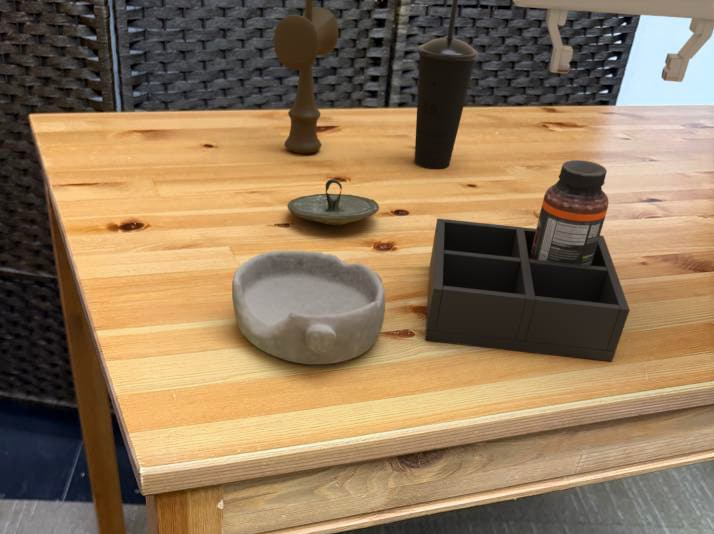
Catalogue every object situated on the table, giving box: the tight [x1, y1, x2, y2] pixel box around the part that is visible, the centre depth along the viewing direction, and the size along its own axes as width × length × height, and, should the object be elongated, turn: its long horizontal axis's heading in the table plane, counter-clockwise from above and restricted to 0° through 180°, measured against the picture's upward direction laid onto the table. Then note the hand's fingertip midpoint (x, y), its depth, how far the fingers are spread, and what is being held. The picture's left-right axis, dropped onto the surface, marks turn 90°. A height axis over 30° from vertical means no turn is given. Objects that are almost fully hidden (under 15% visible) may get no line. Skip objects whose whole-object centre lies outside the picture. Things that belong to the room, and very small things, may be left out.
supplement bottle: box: [530, 159, 609, 266], centre depth 78 cm, size 6×6×11 cm
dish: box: [231, 250, 386, 365], centre depth 72 cm, size 14×14×5 cm
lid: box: [286, 178, 380, 227], centre depth 93 cm, size 11×10×5 cm
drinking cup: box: [414, 0, 479, 170], centre depth 105 cm, size 8×8×20 cm
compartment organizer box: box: [424, 218, 630, 362], centre depth 78 cm, size 17×17×5 cm
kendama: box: [273, 0, 340, 154], centre depth 107 cm, size 6×10×20 cm, turn 160°
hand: (614, 75), depth 69 cm, fingers open, 8 cm apart
